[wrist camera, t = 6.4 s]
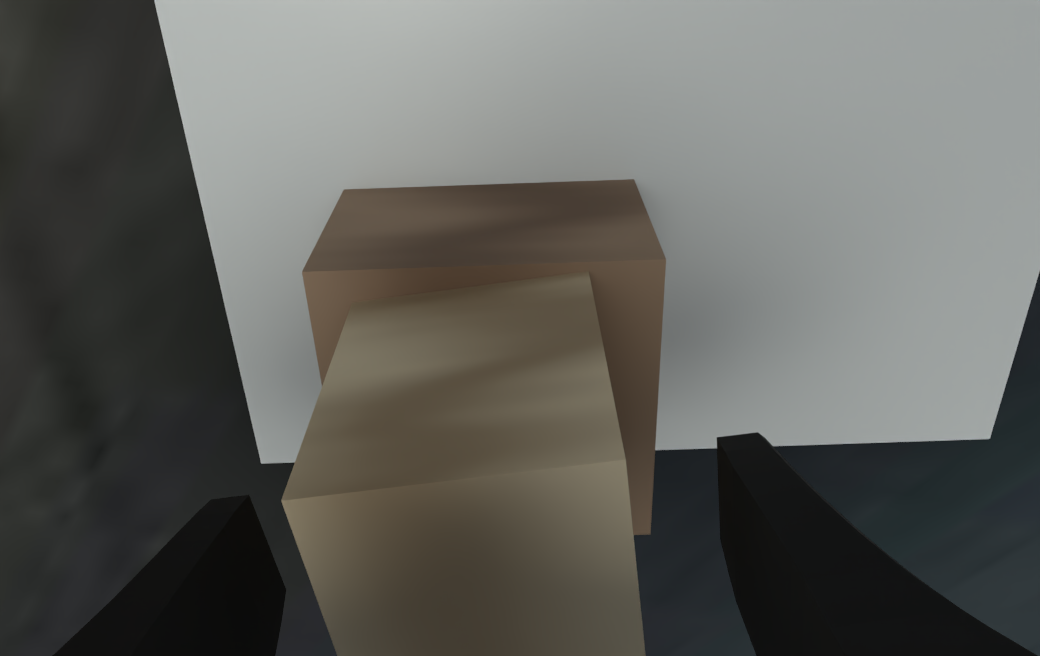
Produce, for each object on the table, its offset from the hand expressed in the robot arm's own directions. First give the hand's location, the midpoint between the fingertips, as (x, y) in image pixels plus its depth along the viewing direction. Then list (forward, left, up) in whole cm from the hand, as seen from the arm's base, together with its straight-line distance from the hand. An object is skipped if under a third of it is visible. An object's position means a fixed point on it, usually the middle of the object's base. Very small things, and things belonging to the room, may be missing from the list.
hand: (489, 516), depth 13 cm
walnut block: (0, 0, -7) cm, 7 cm away
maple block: (0, -1, -3) cm, 3 cm away
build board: (-3, -4, -7) cm, 9 cm away
